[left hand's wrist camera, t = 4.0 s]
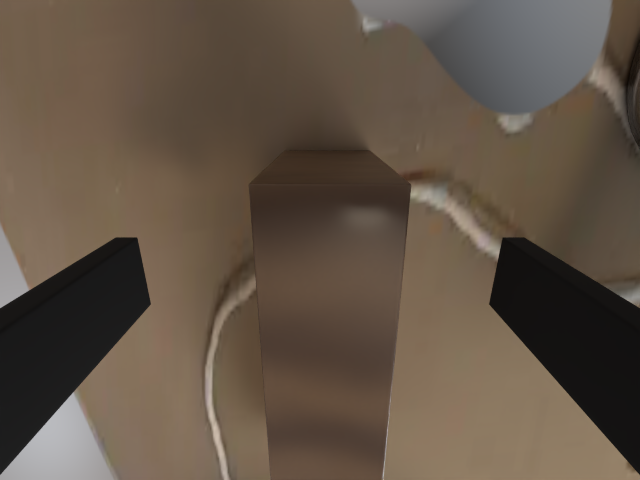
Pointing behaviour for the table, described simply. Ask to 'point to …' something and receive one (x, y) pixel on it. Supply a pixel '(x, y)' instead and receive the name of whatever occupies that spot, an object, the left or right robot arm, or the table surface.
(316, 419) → the box
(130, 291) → the left robot arm
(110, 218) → the table surface
